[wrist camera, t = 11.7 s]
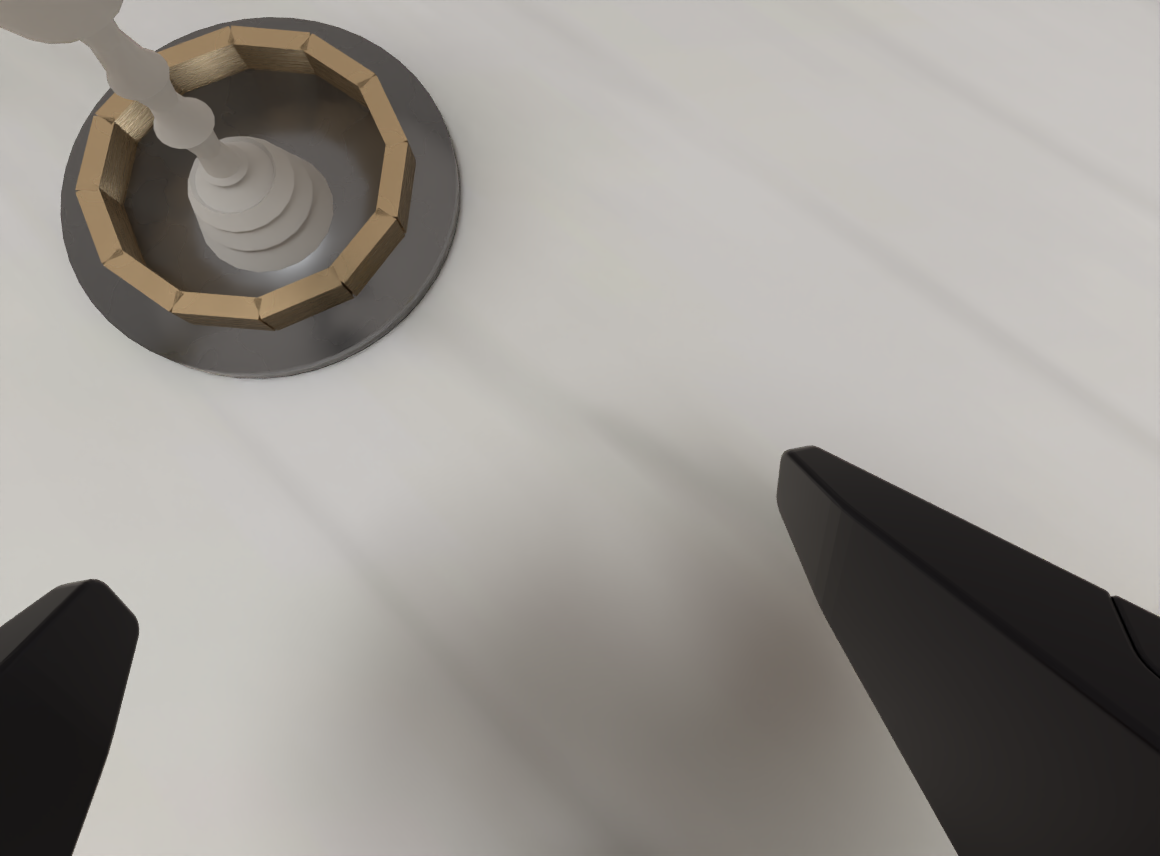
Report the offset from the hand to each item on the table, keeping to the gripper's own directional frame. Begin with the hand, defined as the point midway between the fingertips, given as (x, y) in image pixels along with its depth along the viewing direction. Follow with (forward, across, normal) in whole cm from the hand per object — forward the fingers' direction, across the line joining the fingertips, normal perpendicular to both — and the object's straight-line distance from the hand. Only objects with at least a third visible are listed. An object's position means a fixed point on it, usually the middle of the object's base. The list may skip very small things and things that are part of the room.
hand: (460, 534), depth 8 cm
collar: (+20, +8, -1) cm, 22 cm away
